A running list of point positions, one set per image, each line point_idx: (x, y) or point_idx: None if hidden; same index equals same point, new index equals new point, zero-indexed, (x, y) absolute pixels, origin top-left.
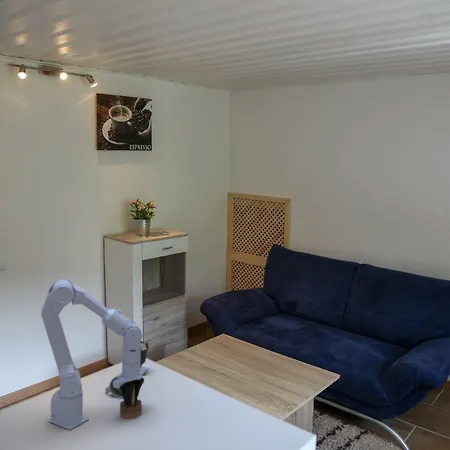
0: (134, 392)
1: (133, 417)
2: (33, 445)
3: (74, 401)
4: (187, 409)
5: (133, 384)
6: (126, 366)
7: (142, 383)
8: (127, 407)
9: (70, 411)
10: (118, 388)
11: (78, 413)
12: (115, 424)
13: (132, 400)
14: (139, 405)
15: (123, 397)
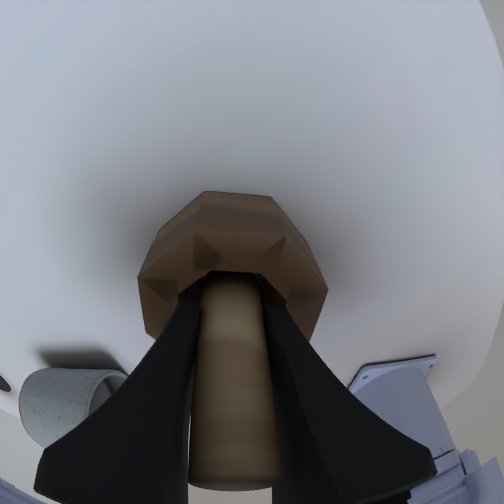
0: (225, 384)
1: (283, 212)
2: (487, 351)
3: (448, 438)
4: (10, 6)
5: (208, 481)
6: None
7: (81, 438)
8: (314, 295)
9: (439, 410)
10: None
11: (419, 397)
12: (382, 260)
13: (250, 321)
14: (229, 231)
15: (120, 372)
